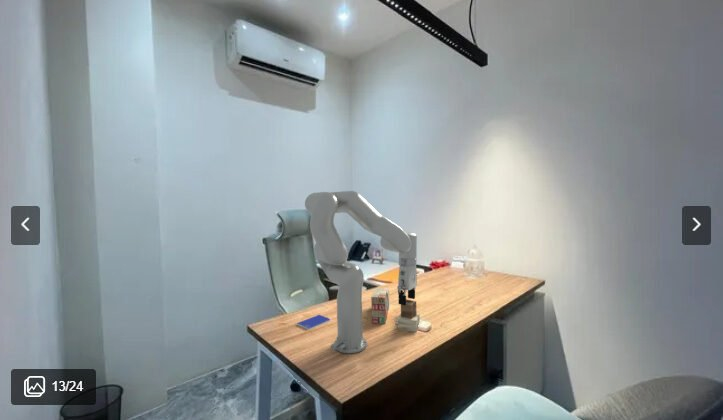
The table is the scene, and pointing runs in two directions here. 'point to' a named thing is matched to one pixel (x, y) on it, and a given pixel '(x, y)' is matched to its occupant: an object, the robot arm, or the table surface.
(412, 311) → the walnut block
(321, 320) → the hard drive
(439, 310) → the table surface
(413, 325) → the grey stepped block
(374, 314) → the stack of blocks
